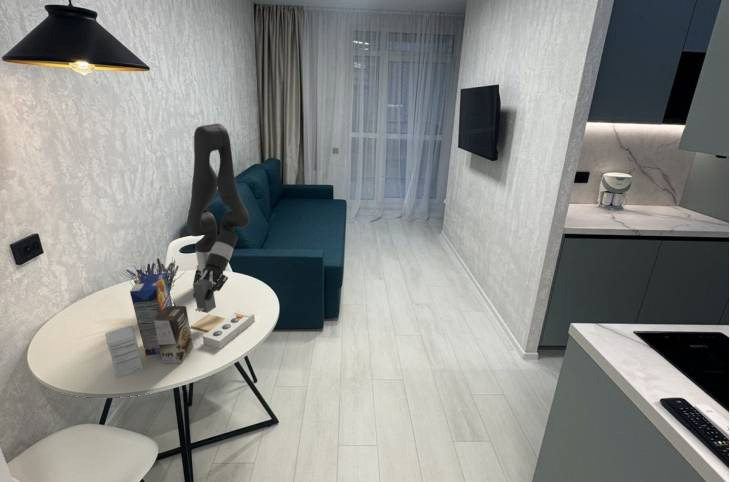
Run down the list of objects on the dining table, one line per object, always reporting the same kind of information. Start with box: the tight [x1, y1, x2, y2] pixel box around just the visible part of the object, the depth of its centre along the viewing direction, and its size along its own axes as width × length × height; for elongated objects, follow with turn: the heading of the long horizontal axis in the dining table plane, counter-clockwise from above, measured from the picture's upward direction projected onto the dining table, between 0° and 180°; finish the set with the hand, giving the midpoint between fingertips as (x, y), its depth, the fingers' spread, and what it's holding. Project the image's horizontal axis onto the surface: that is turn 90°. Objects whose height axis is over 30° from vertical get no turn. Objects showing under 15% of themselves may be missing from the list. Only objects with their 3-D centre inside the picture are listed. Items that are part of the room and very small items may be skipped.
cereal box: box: [129, 272, 173, 357], centre depth 129 cm, size 12×8×24 cm, turn 13°
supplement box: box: [105, 325, 144, 378], centre depth 119 cm, size 7×7×13 cm
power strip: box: [202, 309, 256, 349], centre depth 139 cm, size 8×18×4 cm, turn 158°
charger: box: [192, 279, 217, 314], centre depth 140 cm, size 4×7×11 cm
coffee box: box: [154, 305, 194, 365], centre depth 124 cm, size 9×6×16 cm
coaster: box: [190, 313, 227, 333], centre depth 145 cm, size 9×9×1 cm
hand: (201, 298), depth 139 cm, fingers closed on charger, 4 cm apart
